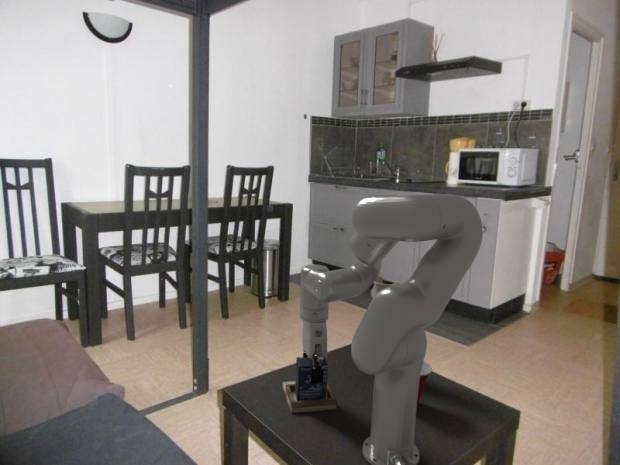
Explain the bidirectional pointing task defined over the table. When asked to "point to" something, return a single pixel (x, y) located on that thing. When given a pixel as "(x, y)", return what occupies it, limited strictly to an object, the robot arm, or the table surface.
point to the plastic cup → (423, 378)
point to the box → (309, 381)
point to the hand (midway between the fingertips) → (312, 374)
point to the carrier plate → (307, 404)
